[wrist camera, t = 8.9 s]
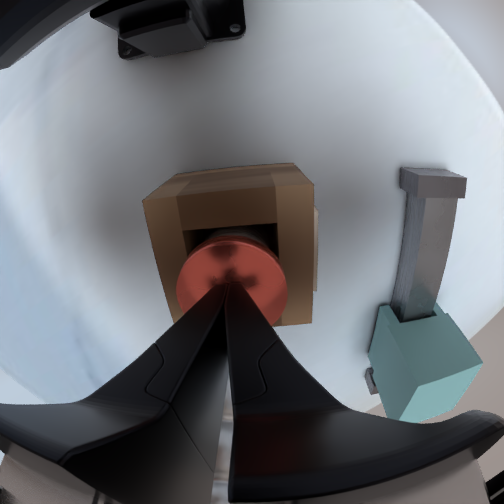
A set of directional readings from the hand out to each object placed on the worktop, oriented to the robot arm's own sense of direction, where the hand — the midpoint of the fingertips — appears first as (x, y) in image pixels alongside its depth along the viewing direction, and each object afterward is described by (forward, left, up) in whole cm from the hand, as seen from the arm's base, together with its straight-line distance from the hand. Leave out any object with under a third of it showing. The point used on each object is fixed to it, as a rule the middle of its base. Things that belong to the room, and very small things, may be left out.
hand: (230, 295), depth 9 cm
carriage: (+9, +11, -7) cm, 16 cm away
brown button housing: (0, 0, -7) cm, 7 cm away
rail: (+6, +11, -7) cm, 14 cm away
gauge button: (0, 0, -5) cm, 5 cm away
